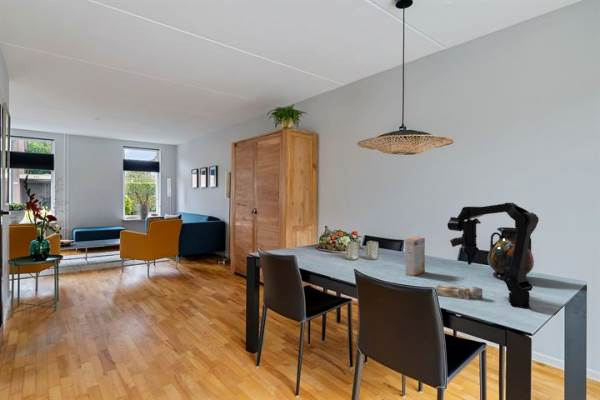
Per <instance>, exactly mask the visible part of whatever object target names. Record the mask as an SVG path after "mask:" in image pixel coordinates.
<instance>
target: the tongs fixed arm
mask: <svg viewBox="0 0 600 400" xmlns="http://www.w3.org/2000/svg"><path fill="white" fill-rule="evenodd" d="M461 288H462V287H461ZM461 288H458V289H449V288H440V287H438V286H435V288H434V290H435V289H436V291H437V294H438V295H437V296H443V297H452V298H457V297H458V298H459V299H466V300H469V299H470V296H469V291H466V290H464V289H461Z"/></svg>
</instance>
